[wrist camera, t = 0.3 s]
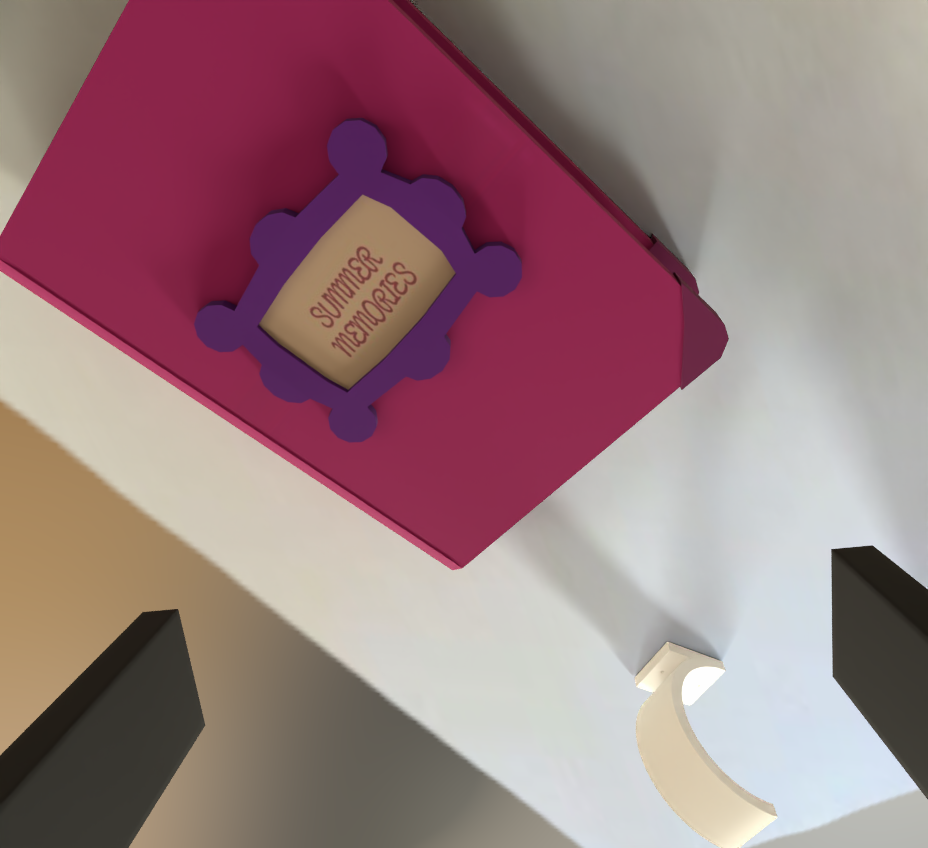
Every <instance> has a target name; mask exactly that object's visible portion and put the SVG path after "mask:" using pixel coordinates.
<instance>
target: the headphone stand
mask: <svg viewBox="0 0 928 848" xmlns="http://www.w3.org/2000/svg"><path fill="white" fill-rule="evenodd" d="M725 671H726V670H725V667H724V664H723V662H722V661H719V660H717V659H714V658H711V657H708V656H706V655H703V654H700V653H698V652H695V651H692V650H689V649H687V648H684V647H681V646H678V645H676V644H673V643H670V642H667V643H666V644H665V645H664V646H663V647H662V648H661V649H660V650H659V651H658V652H657V654H656V655H655V656H654V657H653V658H652V659H651V660H650V661H649V662H648V664H647V665H646V666H645V667H644V668H643V669H642V670H641V671H640V672H639V673H638V675H637V676H636V677H635V682H636V687H639V688H642V689H644V690H647V691H650V692H653V694H652V695H651V696H650V697H649V698H648V699H647V700H646V701H645V702H644V703H643V705H642V706H641V708H640V710H639V712H638V715H637V720H636V738H637V744H638V748H639V752H640V755H641V758H642V761H643V763H644V766H645V768H646V770H647V772H648V774H649V776H650V778H651V780H652V782H653V783H654V785H655V787H656V788H657V790H658V791H659V793H660V794H661V796H662V797H663V798H664V800H665V801H666V802H667V804H668V805H669V806H670V807H671V808H672V809H673V811H674V812H675V813H676V814H677V815H678V816H679V817H680V818H681V819H682V820H683V821H684V822H685V823H686V824H687V825H688V826H689V827H691V828H692V829H693V830H694V831H695V832H697V833H698V834H699V835H701V836H702V837H704V838H705V839H706V840H708V841H710V842H711V843H713V844H715V845H717V846H719V847H721V848H739V847H741V846H742V845H743V844H744V843H746V842H747V841H748V840H750V839H751V838H752V837H753V836H755V835H756V834H757V833H758V832H760V831H761V830H762V829H763V828H765V827H766V826H767V825H768V824H770V823H771V822H772V821H774V820H775V819H776V818H777V814H776V811H775V808H774V806H773V804H771V803H768V802H766V801H763V800H761V799H759V798H757V797H756V796H754V795H752V794H751V793H749V792H747V791H746V790H745V789H743V788H742V787H740V786H739V785H738V784H737V783H735V782H734V781H733V780H732V779H731V778H730V777H729V776H727V775H726V774H725V773H724V772H723V771H722V770H721V769H720V768H719V767H718V765H717V764H716V763H715V762H714V761H713V760H712V759H711V757H710V756H709V755H708V754H707V752H706V751H705V750H704V748H703V747H702V745H701V744H700V742H699V741H698V739H697V737H696V736H695V734H694V732H693V730H692V728H691V726H690V724H689V722H688V719H687V716H686V714H685V710H684V706H683V703H684V704H687V705H692V704H693V703H694V702H695V701H696V700H697V699H698V698H699V697H700V696H701V695H702V694H703V693H704V692H705V691H706V690H707V689H708V688H709V687H710V686H711V685H712V684H713V683H714V682H715V681H716V680H717V679H718V678H719V677H720V676H721V675H722V674H723V673H724V672H725Z"/></svg>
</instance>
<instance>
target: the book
mask: <svg viewBox="0 0 928 848" xmlns="http://www.w3.org/2000/svg"><path fill="white" fill-rule="evenodd" d="M0 271H1V272H3V273H4V274H6V275H7V276H9V277H10V278H12V279H13V280H15V281H16V282H18V283H19V284H21V285H22V286H24V287H25V288H27V289H28V290H30V291H31V292H33V293H34V294H36V295H37V296H39V297H40V298H42V299H44V300H45V301H47V302H48V303H50V304H51V305H53V306H54V307H56V308H57V309H59V310H60V311H62V312H63V313H65V314H66V315H68V316H69V317H71V318H72V319H74V320H75V321H77V322H78V323H80V324H81V325H83V326H84V327H86V328H87V329H89V330H90V331H92V332H93V333H95V334H96V335H98V336H99V337H101V338H102V339H104V340H105V341H107V342H108V343H110V344H111V345H113V346H115V347H116V348H118V349H119V350H121V351H122V352H124V353H125V354H127V355H128V356H130V357H131V358H133V359H134V360H136V361H137V362H139V363H140V364H142V365H143V366H145V367H146V368H148V369H149V370H151V371H152V372H154V373H155V374H157V375H158V376H160V377H161V378H163V379H164V380H166V381H167V382H169V383H170V384H172V385H173V386H175V387H176V388H178V389H179V390H181V391H182V392H184V393H186V394H187V395H189V396H190V397H192V398H193V399H195V400H196V401H198V402H199V403H201V404H202V405H204V406H205V407H207V408H208V409H210V410H211V411H213V412H214V413H216V414H217V415H219V416H220V417H222V418H223V419H225V420H226V421H228V422H229V423H231V424H232V425H234V426H235V427H237V428H238V429H240V430H241V431H243V432H244V433H246V434H247V435H249V436H250V437H252V438H254V439H255V440H257V441H258V442H260V443H261V444H263V445H264V446H266V447H267V448H269V449H270V450H272V451H273V452H275V453H276V454H278V455H279V456H281V457H282V458H284V459H285V460H287V461H288V462H290V463H291V464H293V465H294V466H296V467H297V468H299V469H300V470H302V471H303V472H305V473H306V474H308V475H309V476H311V477H312V478H314V479H315V480H317V481H318V482H320V483H321V484H323V485H325V486H326V487H328V488H329V489H331V490H332V491H334V492H335V493H337V494H338V495H340V496H341V497H343V498H344V499H346V500H347V501H349V502H350V503H352V504H353V505H355V506H356V507H358V508H359V509H361V510H362V511H364V512H365V513H367V514H368V515H370V516H371V517H373V518H374V519H376V520H377V521H379V522H380V523H382V524H383V525H385V526H386V527H388V528H389V529H391V530H392V531H394V532H396V533H397V534H399V535H400V536H402V537H403V538H405V539H406V540H408V541H409V542H411V543H412V544H414V545H415V546H417V547H418V548H420V549H421V550H423V551H424V552H426V553H427V554H429V555H430V556H432V557H433V558H435V559H436V560H438V561H439V562H441V563H442V564H444V565H445V566H447V567H448V568H450V569H451V570H456V569H461V568H463V567H464V566H465V565H467V564H468V563H469V562H470V561H471V560H473V559H474V558H475V557H476V556H477V555H479V554H480V553H481V552H482V551H483V550H485V549H486V548H487V547H488V546H489V545H491V544H492V543H493V542H494V541H495V540H497V539H498V538H499V537H500V536H501V535H503V534H504V533H505V532H506V531H507V530H509V529H510V528H511V527H512V526H513V525H515V524H516V523H517V522H518V521H519V520H521V519H522V518H523V517H524V516H525V515H527V514H528V513H529V512H530V511H531V510H533V509H534V508H535V507H536V506H537V505H539V504H540V503H541V502H542V501H543V500H545V499H546V498H547V497H548V496H549V495H551V494H552V493H553V492H554V491H555V490H557V489H558V488H559V487H560V486H561V485H563V484H564V483H565V482H566V481H567V480H569V479H570V478H571V477H572V476H573V475H575V474H576V473H577V472H578V471H579V470H581V469H582V468H583V467H584V466H585V465H587V464H588V463H589V462H590V461H591V460H593V459H594V458H595V457H596V456H597V455H599V454H600V453H601V452H602V451H603V450H605V449H606V448H607V447H608V446H609V445H611V444H612V443H613V442H614V441H615V440H617V439H618V438H619V437H620V436H621V435H623V434H624V433H625V432H626V431H627V430H629V429H630V428H631V427H632V426H633V425H635V424H636V423H637V422H638V421H639V420H641V419H642V418H643V417H644V416H645V415H647V414H648V413H649V412H650V411H651V410H652V409H654V408H655V407H656V406H657V405H658V404H660V403H661V402H662V401H663V400H664V399H666V398H667V397H668V396H669V395H670V394H672V393H673V392H674V391H675V390H676V389H678V388H679V387H680V388H681V389H684V388H685V387H686V386H687V385H688V384H690V383H691V382H692V381H693V380H694V379H696V378H697V377H698V376H699V375H700V374H702V373H703V372H704V371H705V370H706V369H708V368H709V367H710V366H711V365H712V364H714V363H715V362H716V361H717V360H718V359H720V358H721V356H722V354H723V351H724V349H725V347H726V344H727V342H728V339H729V338H728V335H727V331H726V328H725V325H724V323H723V322H722V320H721V319H720V318H719V316H718V315H717V313H716V312H715V311H714V310H713V309H712V308H711V307H710V306H709V305H708V304H707V303H706V302H705V301H704V300H703V299H702V298H701V297H700V296H699V295H698V294H699V290H698V287H697V283H696V279H695V278H694V277H693V275H692V274H691V272H690V271H689V269H688V268H686V267H685V266H684V265H683V264H682V263H681V262H680V261H679V260H678V259H677V258H676V257H675V256H674V255H673V254H672V253H671V252H670V251H669V250H668V249H667V248H666V247H665V246H664V245H663V244H662V243H661V242H660V241H659V240H658V239H657V238H656V237H655V236H654V235H653V234H652V237H651V239H650V238H649V237H648V236H647V235H646V234H645V233H644V232H643V231H642V230H641V229H640V228H639V227H638V226H637V225H636V224H635V223H634V222H633V221H632V220H631V219H630V218H629V217H628V216H627V215H626V214H625V213H624V212H623V211H622V210H621V209H620V208H619V207H618V206H617V205H616V204H615V203H614V202H613V201H612V200H611V199H610V198H609V197H608V196H607V195H606V194H605V193H604V192H603V191H602V190H601V189H600V188H599V187H598V186H597V185H596V184H595V183H594V182H593V181H591V180H590V179H589V178H588V177H587V176H586V175H585V174H584V173H583V172H582V171H581V170H580V169H579V168H578V167H577V166H576V165H575V164H574V163H573V162H572V161H571V160H570V159H569V158H568V157H567V156H566V155H565V154H564V153H563V152H562V151H561V150H560V149H559V148H558V147H557V146H556V145H555V144H554V143H553V142H552V141H551V140H550V139H549V138H548V137H547V136H546V135H545V134H544V133H543V132H542V131H541V130H540V129H539V128H538V127H537V126H536V125H535V124H534V123H533V122H532V121H531V120H530V119H529V118H528V117H527V116H526V115H525V114H524V113H523V112H522V111H521V110H520V109H519V108H518V107H517V106H516V105H515V104H514V103H512V102H511V101H510V100H509V99H508V98H507V97H506V96H505V95H504V94H503V93H502V92H501V91H500V90H499V89H498V88H497V87H496V86H495V85H494V84H493V83H492V82H491V81H490V80H489V79H488V78H487V77H486V76H485V75H484V74H483V73H482V72H481V71H480V70H479V69H478V68H477V67H476V66H475V65H474V64H473V63H472V62H471V61H470V60H469V59H468V58H467V57H466V56H465V55H464V54H463V53H462V52H461V51H460V50H459V49H458V48H457V47H456V46H455V45H454V44H453V43H452V42H451V41H450V40H449V39H448V38H447V37H446V36H445V35H444V34H443V33H442V32H441V31H440V30H439V29H438V28H437V27H436V26H435V25H433V24H432V23H431V22H430V21H429V20H428V19H427V18H426V17H425V16H424V15H423V14H422V13H421V12H420V11H419V10H418V9H417V8H416V7H415V6H414V5H413V4H412V3H411V2H410V1H409V0H129V1H128V3H127V5H126V7H125V9H124V11H123V12H122V14H121V16H120V18H119V20H118V21H117V23H116V25H115V27H114V29H113V31H112V32H111V34H110V36H109V38H108V40H107V42H106V43H105V45H104V47H103V49H102V51H101V53H100V54H99V56H98V58H97V60H96V62H95V64H94V65H93V67H92V69H91V71H90V73H89V75H88V76H87V78H86V80H85V82H84V84H83V86H82V87H81V89H80V91H79V93H78V95H77V96H76V98H75V100H74V102H73V104H72V106H71V107H70V109H69V111H68V113H67V115H66V117H65V118H64V120H63V122H62V124H61V126H60V128H59V129H58V131H57V133H56V135H55V137H54V139H53V140H52V142H51V144H50V146H49V148H48V150H47V151H46V153H45V155H44V157H43V159H42V160H41V162H40V164H39V166H38V168H37V170H36V171H35V173H34V175H33V177H32V179H31V181H30V182H29V184H28V186H27V188H26V190H25V192H24V193H23V195H22V197H21V199H20V201H19V203H18V204H17V206H16V208H15V210H14V212H13V214H12V215H11V217H10V219H9V221H8V223H7V225H6V226H5V228H4V230H3V232H2V234H1V235H0Z"/></svg>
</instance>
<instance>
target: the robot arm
mask: <svg viewBox="0 0 928 848" xmlns="http://www.w3.org/2000/svg"><path fill="white" fill-rule="evenodd" d="M831 553H832V650H833V677H834V679H835V680H836V681H837V682H838V684H839V685H840V686H841V688H842V689H843V690H844V692H845V693H846V694H847V695H848V697H849V698H850V699H851V701H852V702H853V703H854V704H855V706H856V707H857V708H858V710H859V711H860V712H861V714H862V715H863V716H864V717H865V719H866V720H867V721H868V723H869V724H870V725H871V726H872V728H873V729H874V730H875V732H876V733H877V734H878V736H879V737H880V738H881V739H882V741H883V742H884V743H885V745H886V746H887V747H888V749H889V750H890V751H891V752H892V754H893V755H894V756H895V758H896V759H897V760H898V761H899V763H900V764H901V765H902V767H903V768H904V769H905V771H906V772H907V773H908V774H909V776H910V777H911V778H912V780H913V781H914V782H915V783H916V785H917V786H918V787H919V789H920V790H921V791H922V793H923V794H924V795H925V796H926V798H927V799H928V589H926V588H925V587H924V586H923V585H921V584H920V583H919V582H918V581H916V580H915V579H914V578H913V577H911V576H910V575H909V574H908V573H906V572H905V571H904V570H903V569H901V568H900V567H899V566H898V565H896V564H895V563H894V562H893V561H891V560H890V559H889V558H888V557H886V556H885V555H884V554H883V553H881V552H880V551H879V550H878V549H876V548H875V547H874V546H862V547H851V548H840V549H831ZM204 726H205V723H204V718H203V714H202V709H201V705H200V701H199V697H198V692H197V688H196V684H195V680H194V675H193V671H192V667H191V662H190V658H189V654H188V649H187V646H186V641H185V637H184V633H183V628H182V624H181V620H180V615H179V611H178V609H174V610H162V611H151V612H143V613H142V614H141V615H140V616H139V617H138V618H137V619H136V620H135V621H134V622H133V623H132V624H131V625H130V626H129V627H128V628H127V629H126V630H125V631H124V632H123V633H122V634H121V635H120V636H119V637H118V638H117V639H116V640H115V641H114V642H113V643H112V644H111V645H110V646H109V647H108V648H107V649H106V650H105V651H104V652H103V653H102V654H101V655H100V656H99V657H98V658H97V659H96V660H95V661H94V662H93V663H92V664H91V665H90V666H89V667H88V668H87V669H86V670H85V671H84V672H83V673H82V674H81V675H80V676H79V677H78V678H77V679H76V680H75V681H74V682H73V683H72V684H71V685H70V686H69V687H68V688H67V689H66V690H65V691H64V692H63V693H62V694H61V695H60V696H59V697H58V698H57V699H56V700H55V701H54V702H53V703H52V704H51V705H50V706H49V707H48V708H47V709H46V710H45V711H44V712H43V713H42V714H41V715H40V716H39V717H38V718H37V719H36V720H35V721H34V722H33V723H32V724H31V725H30V726H29V727H28V728H27V729H26V730H25V731H24V732H23V733H22V734H21V735H20V736H19V737H18V738H17V739H16V740H15V741H14V742H13V743H12V744H11V745H10V746H9V747H8V748H7V749H6V750H5V751H4V752H3V753H2V755H0V848H129V846H130V844H131V843H132V841H133V840H134V838H135V836H136V835H137V833H138V832H139V830H140V828H141V827H142V825H143V824H144V822H145V820H146V819H147V817H148V816H149V814H150V812H151V811H152V809H153V808H154V806H155V804H156V803H157V801H158V799H159V798H160V796H161V795H162V793H163V792H164V790H165V789H166V787H167V785H168V784H169V782H170V780H171V779H172V777H173V776H174V774H175V773H176V771H177V769H178V768H179V766H180V765H181V763H182V761H183V759H184V758H185V757H186V755H187V753H188V752H189V750H190V749H191V747H192V745H193V744H194V742H195V741H196V739H197V737H198V736H199V734H200V733H201V731H202V730H203V728H204Z"/></svg>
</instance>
